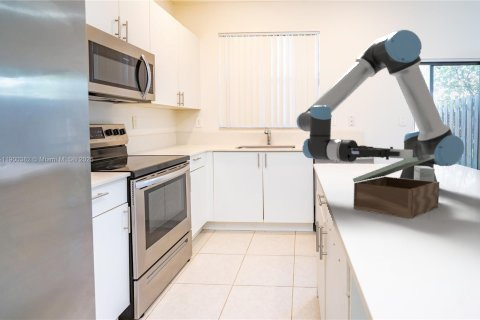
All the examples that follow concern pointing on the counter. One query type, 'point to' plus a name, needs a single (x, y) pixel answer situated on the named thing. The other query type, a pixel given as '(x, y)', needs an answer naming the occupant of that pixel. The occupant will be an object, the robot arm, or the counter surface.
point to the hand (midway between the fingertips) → (411, 154)
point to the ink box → (424, 173)
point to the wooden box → (396, 196)
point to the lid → (394, 167)
